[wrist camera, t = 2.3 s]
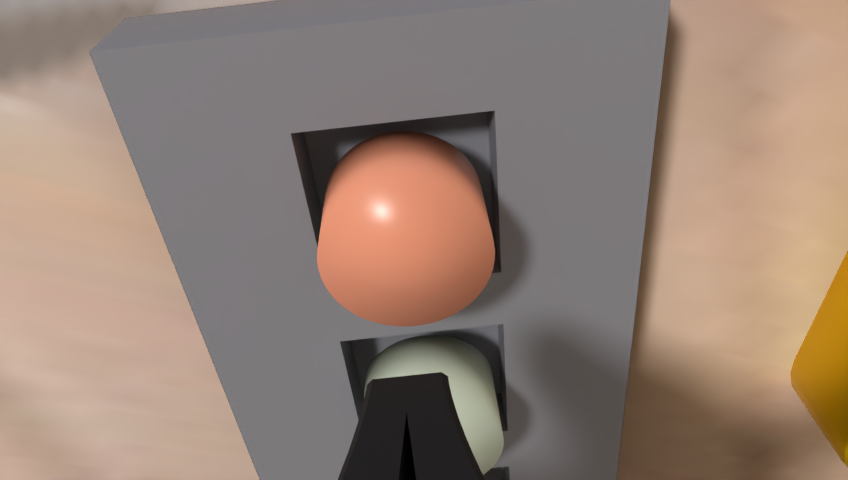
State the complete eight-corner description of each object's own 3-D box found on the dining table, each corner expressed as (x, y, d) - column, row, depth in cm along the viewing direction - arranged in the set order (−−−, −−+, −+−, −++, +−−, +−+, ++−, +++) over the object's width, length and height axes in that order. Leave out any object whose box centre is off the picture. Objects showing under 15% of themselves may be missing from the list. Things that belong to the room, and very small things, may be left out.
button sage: (374, 429, 23) (373, 496, 21) (355, 342, 21) (351, 407, 19) (494, 417, 23) (505, 483, 21) (489, 328, 21) (501, 392, 18)
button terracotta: (340, 272, 19) (334, 334, 17) (310, 140, 17) (300, 194, 14) (485, 256, 19) (498, 317, 17) (478, 122, 17) (491, 173, 14)
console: (310, 540, 31) (305, 594, 29) (125, 18, 17) (89, 52, 15) (591, 511, 30) (606, 564, 28) (636, -41, 17) (672, -16, 15)
